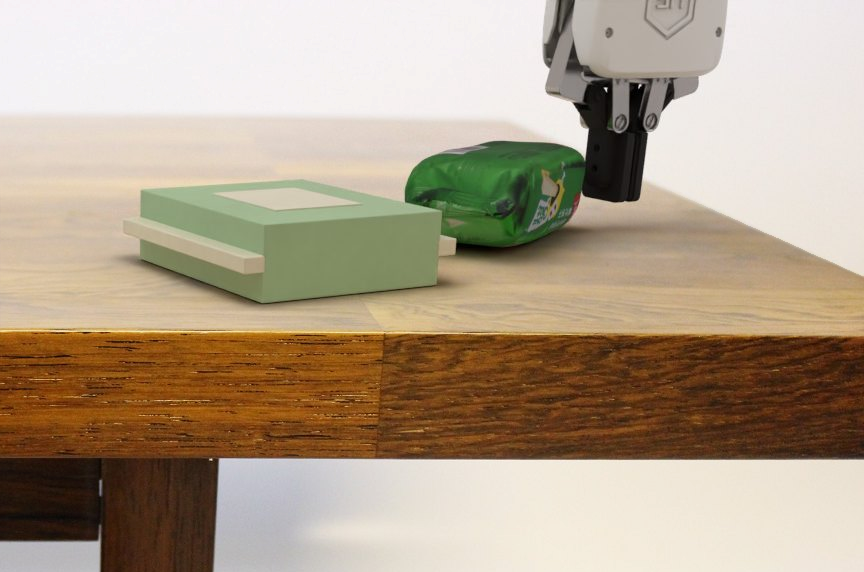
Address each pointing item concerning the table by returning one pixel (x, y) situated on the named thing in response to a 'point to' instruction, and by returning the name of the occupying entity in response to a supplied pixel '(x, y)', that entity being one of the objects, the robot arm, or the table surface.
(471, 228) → the snack package
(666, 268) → the table surface
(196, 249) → the green block with rails
